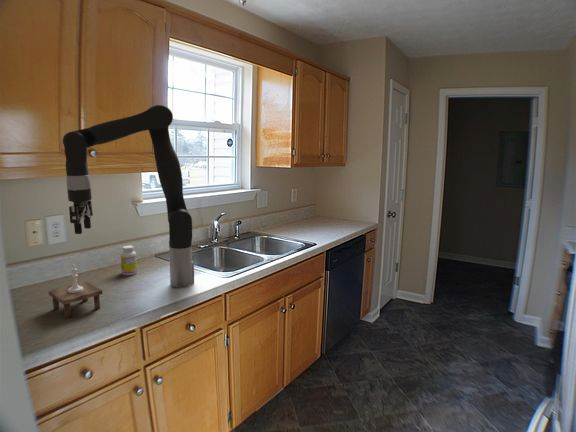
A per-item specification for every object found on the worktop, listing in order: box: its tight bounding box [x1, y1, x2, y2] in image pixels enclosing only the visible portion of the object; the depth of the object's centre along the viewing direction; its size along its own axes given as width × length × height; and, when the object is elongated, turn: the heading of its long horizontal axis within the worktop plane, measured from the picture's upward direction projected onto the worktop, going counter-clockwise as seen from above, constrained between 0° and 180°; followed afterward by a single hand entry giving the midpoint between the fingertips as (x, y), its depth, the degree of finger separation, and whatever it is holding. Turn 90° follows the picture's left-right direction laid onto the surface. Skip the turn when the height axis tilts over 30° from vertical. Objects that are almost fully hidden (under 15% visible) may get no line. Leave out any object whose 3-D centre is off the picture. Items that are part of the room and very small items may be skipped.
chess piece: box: [68, 263, 84, 293], centre depth 134 cm, size 5×5×10 cm
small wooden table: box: [48, 281, 103, 320], centre depth 135 cm, size 13×13×7 cm
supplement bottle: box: [120, 245, 138, 276], centre depth 173 cm, size 7×7×13 cm
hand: (83, 231), depth 139 cm, fingers open, 8 cm apart
